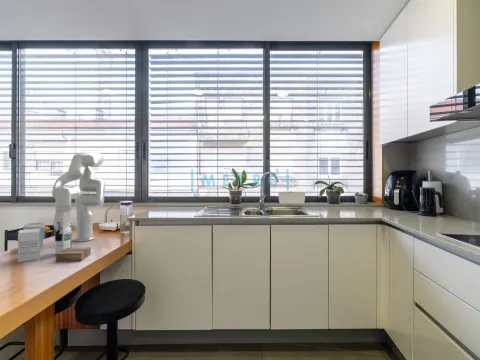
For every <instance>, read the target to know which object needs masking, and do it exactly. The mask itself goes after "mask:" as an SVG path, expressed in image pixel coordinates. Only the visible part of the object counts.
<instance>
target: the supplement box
mask: <svg viewBox="0 0 480 360" xmlns="http://www.w3.org/2000/svg"><path fill="white" fill-rule="evenodd" d="M40 257H41V248H40V229H30V230H24V229H20V230H19V231H18V232H17V263H22V262H23V263H24V262H31V261H38V260H40Z"/></svg>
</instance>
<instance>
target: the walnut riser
mask: <svg viewBox="0 0 480 360" xmlns="http://www.w3.org/2000/svg"><path fill="white" fill-rule="evenodd" d="M91 251H92V250H91V247H90V246H89V247H88V246H86V247H85V246H83V247H82V246H81V247H72V248H66V249H64V250H63V251H61V252H59V253H57V254H55V263H62V262H63V263H64V262H82V261H83V260H85V259H86V258H87V257H89V256H90V255H91V253H92V252H91Z"/></svg>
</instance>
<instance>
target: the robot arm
mask: <svg viewBox="0 0 480 360" xmlns="http://www.w3.org/2000/svg"><path fill="white" fill-rule="evenodd" d="M103 162H104V156H103V154H102V153H100V152H77V153H76V154H74V155H73V157H72V159H71V161H70V165H69V167H68V170H67V172H65V173H63V174H62V175H60V176H59V177H58V178H56V181H55V182H54V185H53V187H52V191H51V195H52V197H53V198H54V199H55V213H54V219H53V220H54V221H53V229H54V230H53V231H54V242H55V241H62V234H61V233H62V230H64V229H66V228H68V227H71V228H72V214H71V212H72V200H74V203H75V209H76V210H75V211H76V233H75V234H76V237H74V238H73V241H75V242H87V241H93V240H95V239H96V236H94V235H93V234H94V231H93V212H92V210H91V208H101V207H103V205H104V202H105V193H106V192H105V191H106V183H105V180H104V179H102V178H95V170H94V169H93V167H94V168H96V167H99V166H101V165H102V164H103ZM77 180H79V183H78V184H79V185H78V186H73V185H72V186H69V185H67V186H65V185H66V184H68V183H70V182H73V181H77ZM82 192H84V193H82ZM59 230H60V231H59Z"/></svg>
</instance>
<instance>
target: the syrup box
mask: <svg viewBox="0 0 480 360" xmlns="http://www.w3.org/2000/svg"><path fill="white" fill-rule="evenodd" d="M59 231H60V230H59ZM61 234H62V241H55V240H54V245H55V246H54V250H55V251H54V254H55V255H56V254H57V253H59V252H61V251H63V250H64V249H66V248H73V245H72V238H73V237H72V236H73V235H72V226H71V227H68V228H66V229H64V230H62V233H61Z"/></svg>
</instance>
